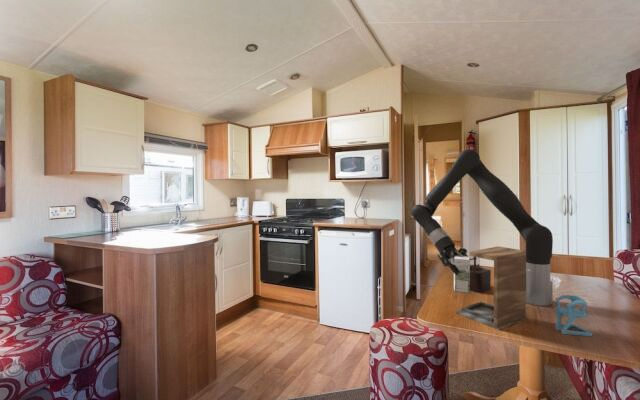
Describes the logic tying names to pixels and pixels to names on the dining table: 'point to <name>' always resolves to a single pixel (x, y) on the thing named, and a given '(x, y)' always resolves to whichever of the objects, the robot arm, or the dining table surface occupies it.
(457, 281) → the syrup box
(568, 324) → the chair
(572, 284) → the dining table surface
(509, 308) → the walnut shelf
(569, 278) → the dining table surface
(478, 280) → the coffee grinder
